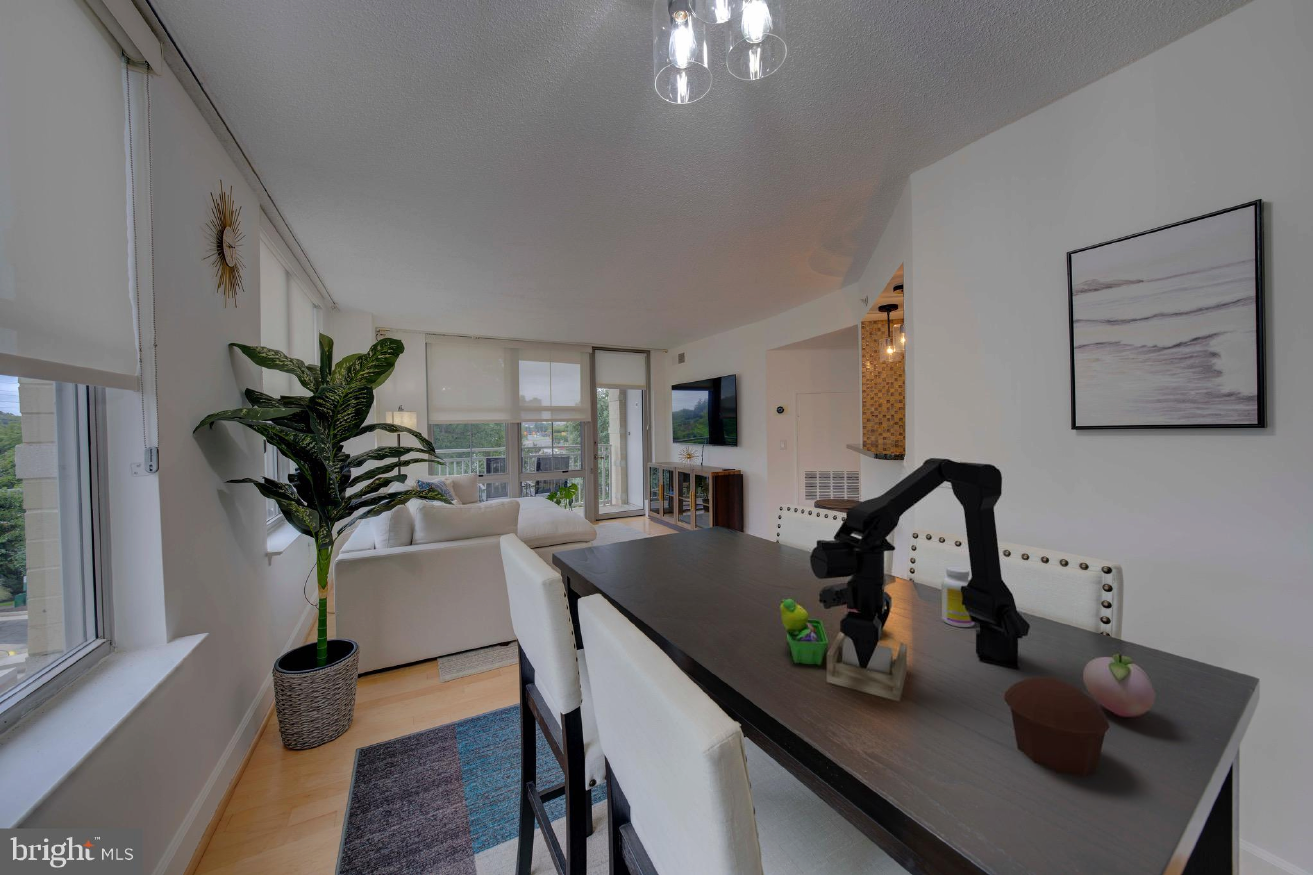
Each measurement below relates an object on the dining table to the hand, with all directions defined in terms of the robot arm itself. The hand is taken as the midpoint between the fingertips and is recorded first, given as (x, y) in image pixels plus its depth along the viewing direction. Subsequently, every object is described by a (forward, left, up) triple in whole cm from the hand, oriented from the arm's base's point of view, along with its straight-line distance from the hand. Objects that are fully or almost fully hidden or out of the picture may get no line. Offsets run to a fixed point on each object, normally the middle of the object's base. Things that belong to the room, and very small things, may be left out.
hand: (867, 657), depth 90 cm
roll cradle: (0, 0, -4) cm, 4 cm away
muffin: (-26, +9, -4) cm, 28 cm away
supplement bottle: (-14, -38, -4) cm, 41 cm away
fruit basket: (+13, -3, -4) cm, 14 cm away
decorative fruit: (-36, -8, -4) cm, 37 cm away
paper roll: (0, 0, -2) cm, 2 cm away
